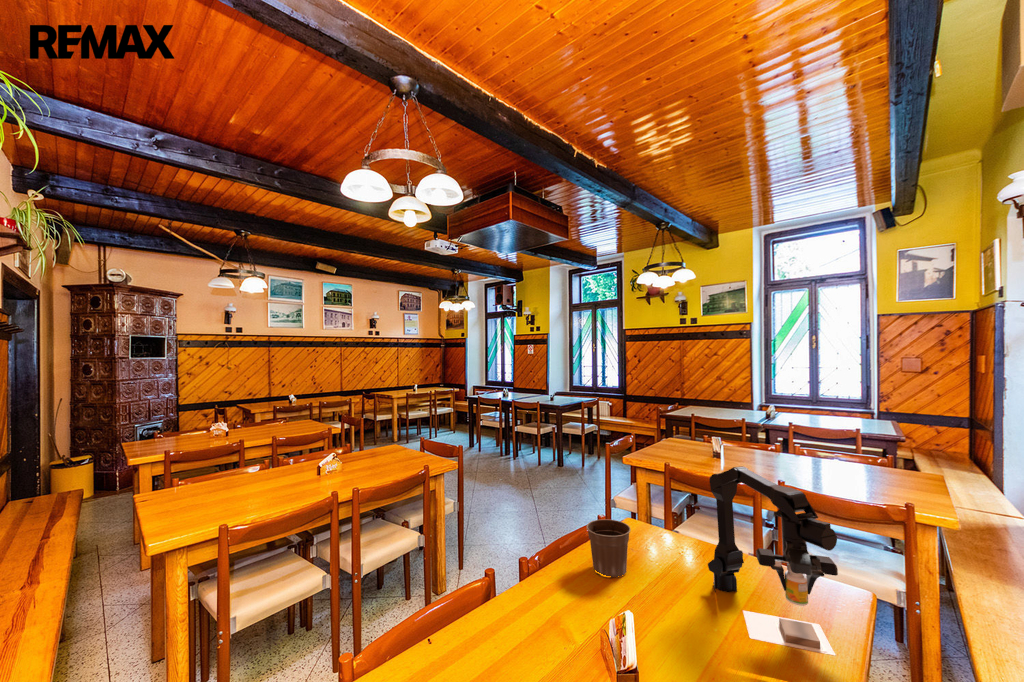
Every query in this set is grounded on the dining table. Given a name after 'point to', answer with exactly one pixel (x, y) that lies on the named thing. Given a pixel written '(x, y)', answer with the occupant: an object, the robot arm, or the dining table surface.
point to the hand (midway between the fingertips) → (796, 591)
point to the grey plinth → (799, 633)
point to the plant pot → (609, 546)
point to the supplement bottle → (796, 587)
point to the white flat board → (771, 632)
